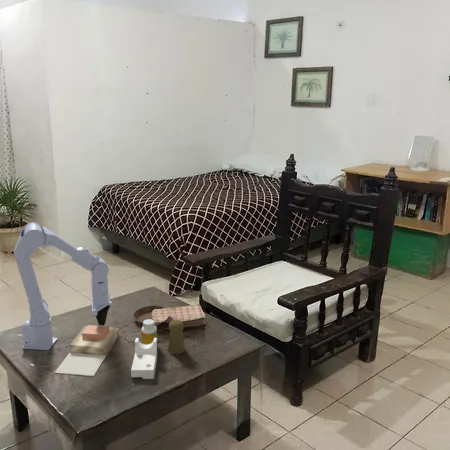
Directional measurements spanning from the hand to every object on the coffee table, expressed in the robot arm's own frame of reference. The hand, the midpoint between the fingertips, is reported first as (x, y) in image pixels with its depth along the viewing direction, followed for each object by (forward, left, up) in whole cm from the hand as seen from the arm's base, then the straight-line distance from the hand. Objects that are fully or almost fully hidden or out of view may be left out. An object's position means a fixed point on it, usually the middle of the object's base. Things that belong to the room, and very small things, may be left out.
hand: (102, 324), depth 183 cm
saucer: (+16, +14, -4) cm, 21 cm away
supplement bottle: (+20, -6, -4) cm, 21 cm away
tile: (0, -6, 0) cm, 6 cm away
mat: (0, -21, -4) cm, 21 cm away
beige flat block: (0, -7, -4) cm, 8 cm away
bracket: (+21, -20, -4) cm, 29 cm away
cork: (+30, -7, -4) cm, 31 cm away
